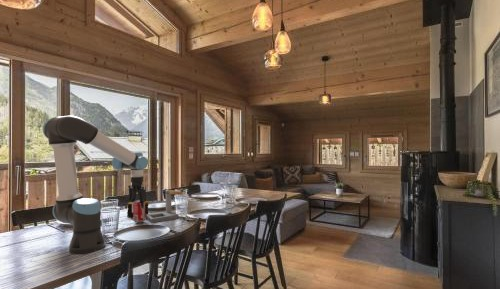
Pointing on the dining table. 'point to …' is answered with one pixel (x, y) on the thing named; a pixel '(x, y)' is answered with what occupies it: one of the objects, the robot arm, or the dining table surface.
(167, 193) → the clip
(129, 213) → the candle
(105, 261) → the dining table surface
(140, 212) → the soda can
